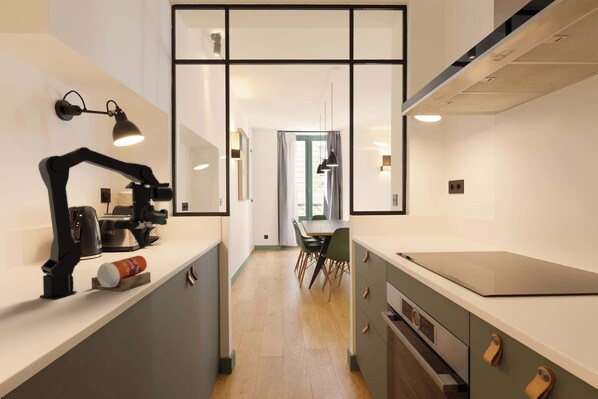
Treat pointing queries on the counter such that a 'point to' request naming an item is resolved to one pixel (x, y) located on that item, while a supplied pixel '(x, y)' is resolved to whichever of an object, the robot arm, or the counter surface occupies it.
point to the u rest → (125, 282)
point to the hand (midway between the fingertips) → (142, 248)
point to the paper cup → (120, 270)
